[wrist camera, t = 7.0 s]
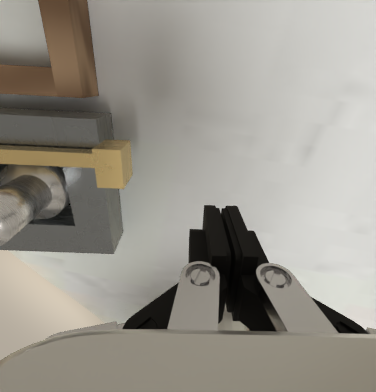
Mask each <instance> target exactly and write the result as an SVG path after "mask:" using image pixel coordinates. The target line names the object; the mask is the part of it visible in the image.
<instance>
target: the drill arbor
mask: <svg viewBox="0 0 376 392" xmlns="http://www.w3.org/2000/svg"><path fill="white" fill-rule="evenodd" d="M69 203H70V199H69V194H68V190H67V185H66V181H65V176H64V171H63V167H60V166H38V165H16V164H10V165H8V166H7V167H5V168H4V169H3V170H2V172H1V174H0V246H1V245H4V244H5V243H6V242H7V241H9V240H10V239H11V238H12V237H13V236H14V235H15V234H17V233H18V232H19V231H20V230H21V229H22V228H23V227H25V226H26V225H27V224H28V223H29V222H30V221H31V220H32V219H34V218H36V219H48V218H52V217H54V216H56V215H58V214H59V213H60V212H61V211H62V210H63V209H64V208H65V207H66V206H67V205H68V204H69Z"/></svg>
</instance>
